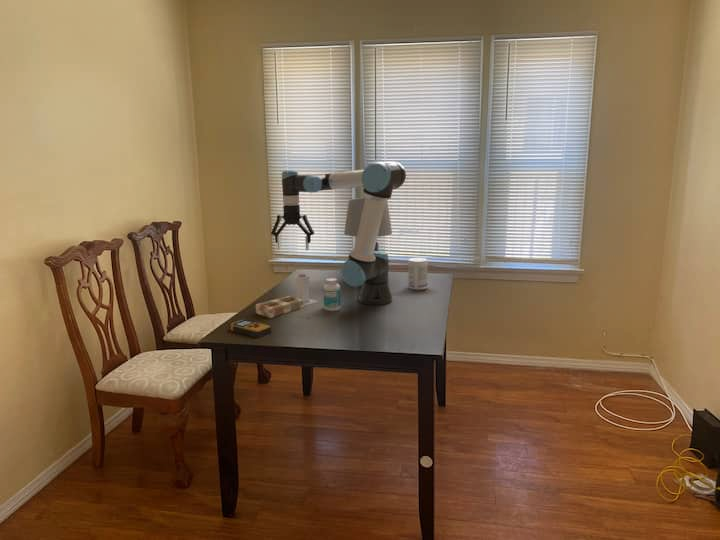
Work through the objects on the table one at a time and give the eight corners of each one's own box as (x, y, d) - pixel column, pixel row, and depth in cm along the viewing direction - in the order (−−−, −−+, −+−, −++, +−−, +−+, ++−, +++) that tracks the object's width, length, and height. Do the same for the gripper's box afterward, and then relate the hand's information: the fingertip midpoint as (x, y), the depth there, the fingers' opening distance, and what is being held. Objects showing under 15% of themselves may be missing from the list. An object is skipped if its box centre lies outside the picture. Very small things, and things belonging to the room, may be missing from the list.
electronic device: (257, 339, 192) (256, 331, 192) (228, 331, 201) (227, 323, 200) (272, 333, 199) (272, 324, 198) (244, 325, 208) (243, 317, 207)
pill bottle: (333, 305, 232) (332, 276, 229) (344, 309, 227) (343, 279, 224) (320, 309, 227) (319, 279, 224) (331, 312, 222) (330, 282, 219)
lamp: (348, 273, 292) (348, 197, 283) (393, 274, 289) (394, 197, 279) (341, 284, 268) (339, 201, 258) (389, 286, 265) (390, 202, 255)
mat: (318, 302, 237) (318, 301, 237) (302, 307, 230) (302, 306, 230) (304, 298, 244) (304, 297, 244) (287, 302, 237) (287, 301, 237)
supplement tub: (427, 286, 265) (428, 257, 262) (426, 290, 256) (427, 261, 253) (408, 285, 267) (409, 257, 264) (407, 290, 258) (407, 261, 254)
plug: (309, 301, 237) (308, 274, 234) (302, 303, 234) (301, 276, 231) (303, 299, 240) (302, 273, 237) (297, 301, 237) (296, 274, 234)
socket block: (303, 308, 228) (303, 299, 227) (270, 318, 215) (270, 308, 214) (288, 304, 235) (288, 295, 234) (256, 313, 222) (255, 303, 221)
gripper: (319, 203, 242) (321, 248, 246) (268, 203, 245) (270, 248, 250) (315, 205, 234) (317, 251, 239) (262, 205, 238) (265, 250, 243)
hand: (293, 249), depth 244 cm, fingers open, 13 cm apart
